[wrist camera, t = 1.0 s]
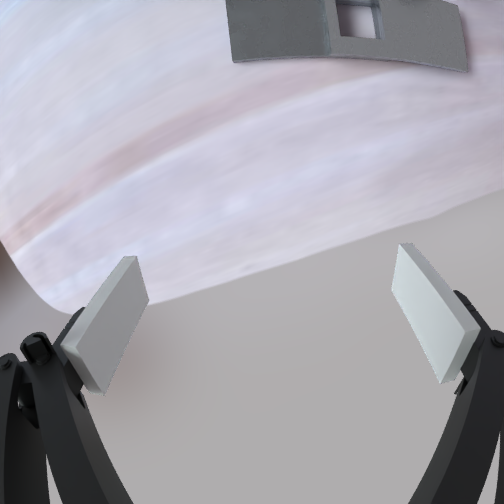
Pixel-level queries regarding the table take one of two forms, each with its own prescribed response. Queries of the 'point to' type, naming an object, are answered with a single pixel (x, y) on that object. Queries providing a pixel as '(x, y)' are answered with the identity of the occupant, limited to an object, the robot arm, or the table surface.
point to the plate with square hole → (335, 46)
